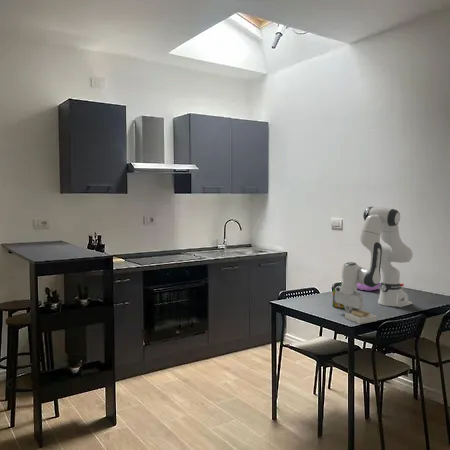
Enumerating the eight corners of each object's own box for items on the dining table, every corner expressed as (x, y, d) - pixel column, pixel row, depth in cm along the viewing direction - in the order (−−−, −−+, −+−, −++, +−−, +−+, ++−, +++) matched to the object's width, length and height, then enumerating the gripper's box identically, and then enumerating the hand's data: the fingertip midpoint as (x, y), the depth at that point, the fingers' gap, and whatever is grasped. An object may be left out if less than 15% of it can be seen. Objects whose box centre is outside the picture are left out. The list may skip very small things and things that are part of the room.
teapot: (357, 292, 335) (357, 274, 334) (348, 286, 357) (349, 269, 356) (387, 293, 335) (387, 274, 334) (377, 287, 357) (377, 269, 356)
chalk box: (345, 309, 287) (346, 285, 286) (331, 306, 293) (332, 283, 292) (351, 306, 294) (352, 283, 293) (338, 304, 300) (339, 281, 299)
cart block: (359, 318, 267) (359, 309, 267) (369, 321, 260) (369, 312, 260) (351, 319, 265) (351, 310, 264) (361, 322, 258) (361, 314, 257)
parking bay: (361, 315, 271) (361, 310, 271) (376, 320, 261) (376, 315, 261) (344, 318, 265) (344, 313, 265) (359, 323, 254) (359, 318, 254)
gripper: (366, 293, 263) (365, 316, 264) (341, 286, 281) (340, 308, 282) (358, 294, 260) (357, 318, 261) (333, 287, 278) (332, 309, 279)
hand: (348, 313), depth 272 cm, fingers closed
